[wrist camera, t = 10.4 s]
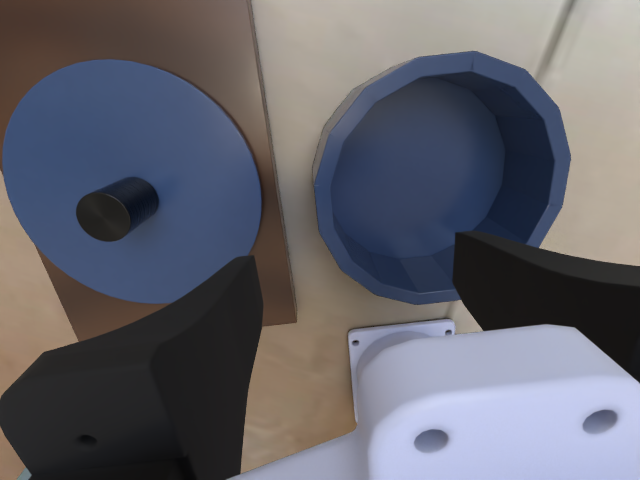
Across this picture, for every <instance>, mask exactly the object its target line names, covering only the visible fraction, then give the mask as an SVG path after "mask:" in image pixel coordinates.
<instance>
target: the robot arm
mask: <svg viewBox="0 0 640 480" xmlns="http://www.w3.org/2000/svg"><path fill="white" fill-rule="evenodd" d="M452 283H453V285H454V287H455V289H456V291H457V293H458V295H459V296H460V298H461V300H462V302H463V304H464V305H465V307H466V308H467V309H468V311H469V312H470V313H471V315H472V316H473V317H474V319H475V320H476V322H477V323H478V324H479V325H480V327H481V328H482V329H483V331H482V332H473V333H464V334H455V324H454V322H453V321H452V320H451V319H442V320H433V321H424V322H415V323H406V324H396V325H387V326H378V327H369V328H360V329H353V330H351V331H349V333H348V344H349V355H350V367H351V378H352V390H353V402H354V413H355V421H356V422H357V426H356V429H355V430H354V431H352V432H351V433H348V434H345V435H343V436H340V437H337V438H335V439H332V440H329V441H327V442H324V443H321V444H319V445H316V446H313V447H311V448H308V449H305V450H303V451H300V452H298V453H295V454H292V455H290V456H287V457H284V458H282V459H279V460H276V461H274V462H271V463H268V464H266V465H263V466H260V467H258V468H255V469H252V470H250V471H247V472H245V473H242V474H240V471H241V457H242V445H243V435H244V424H245V414H246V405H247V396H248V389H249V383H250V378H251V373H252V369H253V365H254V360H255V356H256V352H257V347H258V343H259V338H260V334H261V329H262V321H263V307H264V303H263V297H262V292H261V287H260V282H259V277H258V272H257V267H256V262H255V257H254V255H249V256H240V257H236V258H234V259H233V260H231V261H230V262H229V263H227V264H226V265H225V266H223V267H222V268H221V269H220V270H218V271H217V272H216V273H215V274H213V275H212V276H211V277H210V278H208V279H207V280H206V281H204V282H203V283H201V284H200V285H199V286H197V287H196V288H194V289H193V290H192V291H190V292H189V293H187V294H186V295H184V296H183V297H181V298H179V299H178V300H176V301H174V302H173V303H171V304H169V305H167V306H166V307H164V308H162V309H160V310H158V311H156V312H154V313H152V314H150V315H148V316H145V317H143V318H141V319H139V320H137V321H135V322H133V323H130V324H128V325H125V326H123V327H120V328H118V329H115V330H113V331H110V332H107V333H105V334H102V335H99V336H96V337H93V338H90V339H87V340H84V341H80V342H77V343H74V344H70V345H67V346H64V347H60V348H57V349H54V350H50V351H46V352H44V353H42V354H41V355H40V356H39V358H38V359H37V360H36V361H35V362H34V363H33V364H32V365H31V366H30V367H29V368H28V369H27V370H26V371H25V372H24V373H23V374H22V375H21V376H20V377H19V378H18V379H17V380H16V381H15V382H14V383H13V384H12V385H11V386H10V387H9V388H8V389H7V390H6V391H5V392H4V394H3V395H2V396H1V399H0V426H1V428H2V430H3V433H4V435H5V436H6V438H7V439H8V441H9V442H10V444H11V445H12V447H13V448H14V450H15V451H16V453H17V454H18V456H19V457H20V459H21V460H22V462H23V463H24V465H25V466H26V468H27V469H28V471H29V472H30V474H31V477H30V478H29V479H28V480H640V266H632V265H624V264H616V263H608V262H602V261H595V260H590V259H585V258H579V257H574V256H569V255H565V254H560V253H556V252H552V251H548V250H544V249H540V248H537V247H533V246H529V245H526V244H522V243H519V242H516V241H512V240H509V239H506V238H502V237H499V236H495V235H492V234H488V233H484V232H480V231H463V232H455V246H454V262H453V279H452ZM447 330H450V331H449V332H446V331H447ZM354 340H357V342H353V341H354Z"/></svg>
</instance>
